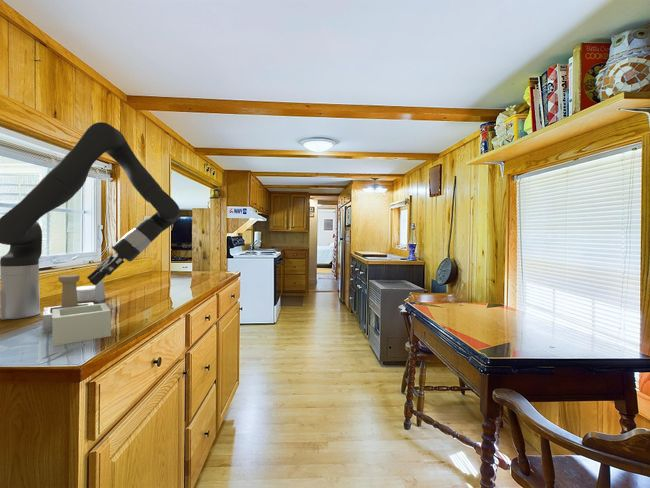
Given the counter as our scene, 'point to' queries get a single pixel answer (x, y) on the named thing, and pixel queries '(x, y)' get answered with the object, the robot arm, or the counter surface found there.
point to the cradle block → (80, 323)
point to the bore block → (48, 317)
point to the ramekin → (85, 293)
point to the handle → (69, 290)
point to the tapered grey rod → (99, 293)
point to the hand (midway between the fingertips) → (90, 281)
